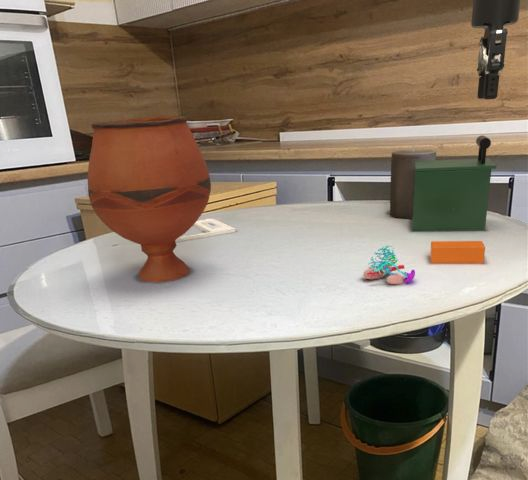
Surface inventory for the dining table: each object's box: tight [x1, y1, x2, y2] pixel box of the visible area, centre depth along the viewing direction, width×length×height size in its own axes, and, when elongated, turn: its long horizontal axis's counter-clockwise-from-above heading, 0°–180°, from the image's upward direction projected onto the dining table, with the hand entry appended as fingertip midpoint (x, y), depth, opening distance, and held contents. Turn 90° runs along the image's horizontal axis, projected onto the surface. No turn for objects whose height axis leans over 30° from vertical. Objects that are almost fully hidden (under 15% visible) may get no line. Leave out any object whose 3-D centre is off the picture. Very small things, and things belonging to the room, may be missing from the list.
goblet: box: [87, 115, 212, 283], centre depth 86 cm, size 19×19×25 cm
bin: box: [411, 169, 492, 233], centre depth 108 cm, size 14×12×12 cm
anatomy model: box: [362, 245, 416, 285], centre depth 80 cm, size 5×8×7 cm
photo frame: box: [175, 218, 236, 243], centre depth 120 cm, size 15×1×18 cm
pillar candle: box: [388, 145, 437, 219], centre depth 120 cm, size 10×10×15 cm
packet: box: [429, 240, 486, 264], centre depth 87 cm, size 4×8×3 cm, turn 76°
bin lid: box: [415, 135, 497, 172], centre depth 104 cm, size 14×12×5 cm
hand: (486, 98), depth 97 cm, fingers open, 8 cm apart
